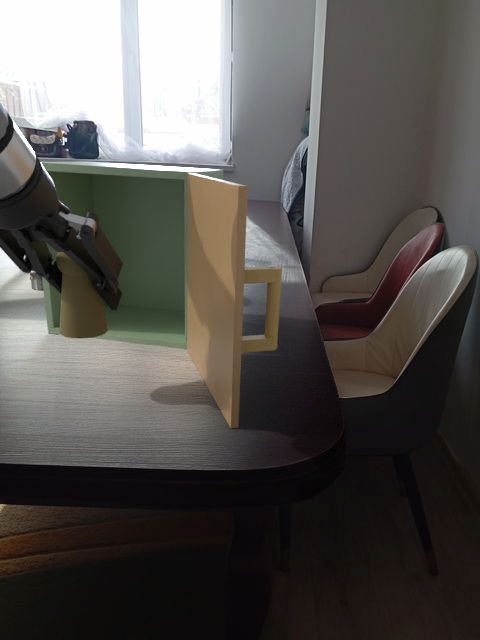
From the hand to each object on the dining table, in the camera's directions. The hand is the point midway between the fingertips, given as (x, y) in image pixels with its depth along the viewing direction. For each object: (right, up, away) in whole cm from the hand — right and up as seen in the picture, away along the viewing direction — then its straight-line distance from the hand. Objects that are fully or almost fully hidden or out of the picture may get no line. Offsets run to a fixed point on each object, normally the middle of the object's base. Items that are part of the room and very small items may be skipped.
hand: (96, 298), depth 69 cm
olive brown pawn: (-1, -5, -2) cm, 5 cm away
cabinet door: (+17, -12, +6) cm, 21 cm away
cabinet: (-1, -2, +27) cm, 27 cm away
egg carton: (-26, +8, +51) cm, 58 cm away
